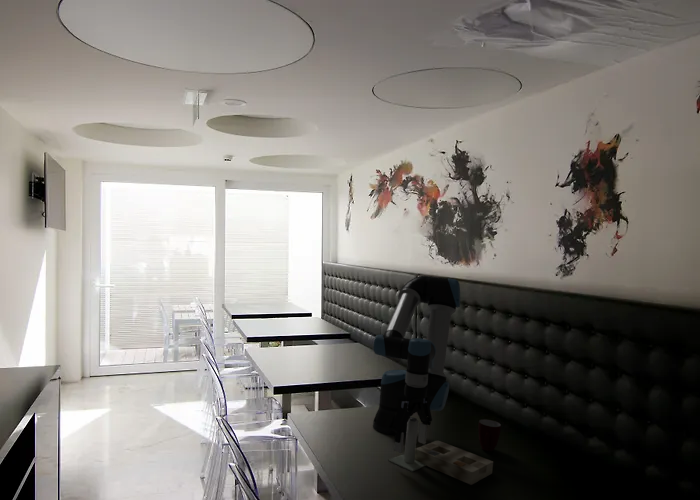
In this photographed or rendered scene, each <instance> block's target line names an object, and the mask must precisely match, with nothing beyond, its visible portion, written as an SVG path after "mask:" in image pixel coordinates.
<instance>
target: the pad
mask: <svg viewBox="0 0 700 500" xmlns="http://www.w3.org/2000/svg"><path fill="white" fill-rule="evenodd" d="M387 461H388V462H390V463H392V464H393V465H397V466H399V467H400V468H402V469H403V468H404V469H405V470H408V471H410V472H412V473H413V472H415V471H417V470H419V469H422V468H424V467H427V466H426V464H424V463H422V462H419V461H417V460H415V461H414V463H412V464H409V463H406V462H404V453H401V454H399V455H397V456H395V457H391V458H389V459H387Z"/></svg>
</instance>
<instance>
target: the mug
mask: <svg viewBox="0 0 700 500" xmlns="http://www.w3.org/2000/svg"><path fill="white" fill-rule="evenodd" d="M477 426H478V427H477V429H478V440H479V444H480V445H479V446H480V447H481V449H482V450H483V451H485V452H490V453H491V452H493V451H494V450H495V449H496V447H497V445H498V442H499V439H500V435H501V431H502V430H501V428H502V425H501V423H500V422H498V421H495V420H491V419H486V418H485V419H484V418H483V419H479V421H478V425H477Z"/></svg>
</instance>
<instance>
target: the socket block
mask: <svg viewBox="0 0 700 500" xmlns="http://www.w3.org/2000/svg"><path fill="white" fill-rule="evenodd" d="M415 460H417V461H419V462H422V463H424V464H426V466H425V467H428V468H430V469H433V470H435V471H438V472H441V473H442V474H445V475H447V476H449V477H452V478H454V479H456V480H458V481H461V482H463V483H466V484H467V485H470V486H472V485H474V484H476V483H477V482H479V481H482V480H483V479H484V478H487V477H488V476H490V475H492V474H493V468H494V461H493V460H490V459H488V458H485V457H482V456H480V455H477V454H475V453H472V452H470V451H467V450H465V449H463V448H460V447H456V446H453V445H451V444H449V443H446V442H444V441H441V440H438V439H437V440H433V441H431V442H429V443H427V444H423V445H422V446H419V447H416V450H415Z"/></svg>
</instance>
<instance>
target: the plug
mask: <svg viewBox="0 0 700 500" xmlns="http://www.w3.org/2000/svg"><path fill="white" fill-rule="evenodd" d="M418 427H419V420H418V419H417V418H416V417H413V416H410V418H409V420H408V422H407V432H406V434H405V444H404V445H405V446H404V453H403V454H404V462H406V463H409V464H412V463H414V461H415V450H416V448H417V441H418V437H417V436H418V431H419V428H418Z"/></svg>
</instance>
